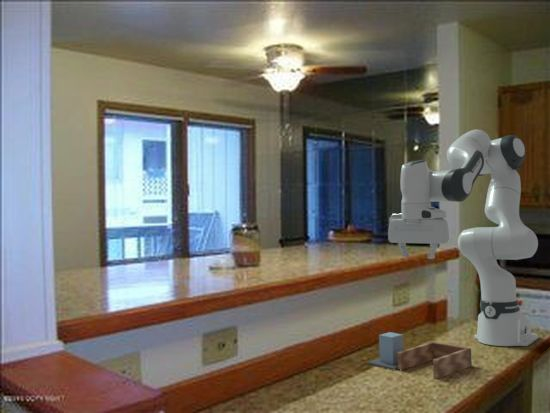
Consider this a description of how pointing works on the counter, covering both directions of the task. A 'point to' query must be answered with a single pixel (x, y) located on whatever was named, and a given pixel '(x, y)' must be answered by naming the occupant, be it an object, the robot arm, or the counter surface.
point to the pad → (382, 364)
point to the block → (390, 347)
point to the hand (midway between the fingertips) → (418, 258)
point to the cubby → (436, 358)
